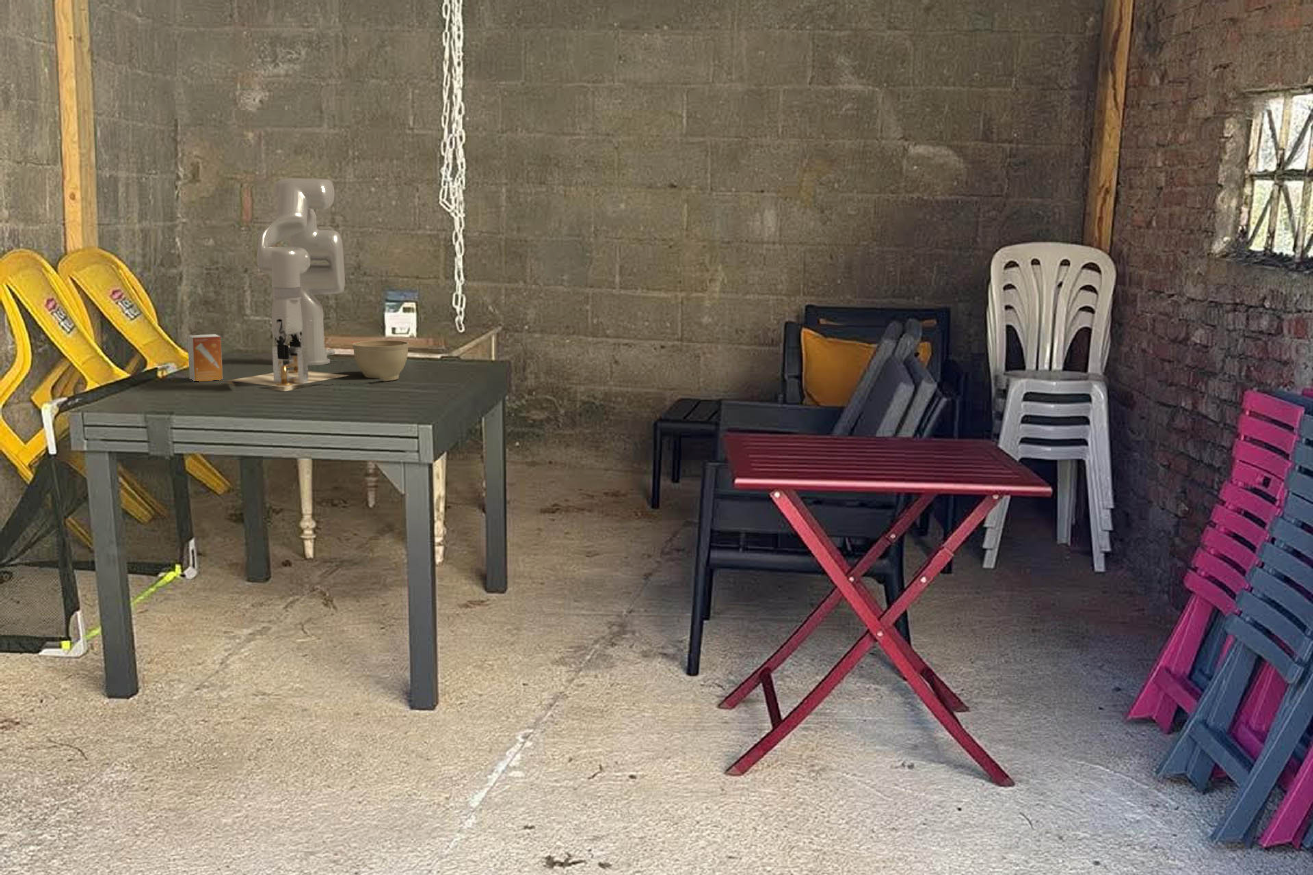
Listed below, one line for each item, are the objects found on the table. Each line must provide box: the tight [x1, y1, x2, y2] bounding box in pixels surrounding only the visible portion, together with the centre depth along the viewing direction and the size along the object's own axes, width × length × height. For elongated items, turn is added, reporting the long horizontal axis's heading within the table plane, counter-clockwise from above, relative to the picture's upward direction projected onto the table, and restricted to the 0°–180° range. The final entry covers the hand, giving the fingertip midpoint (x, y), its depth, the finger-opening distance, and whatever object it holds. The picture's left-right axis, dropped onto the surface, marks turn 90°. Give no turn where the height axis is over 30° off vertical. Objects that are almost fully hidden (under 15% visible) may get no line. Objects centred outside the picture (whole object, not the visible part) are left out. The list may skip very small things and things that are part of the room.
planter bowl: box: [352, 339, 410, 382], centre depth 376 cm, size 16×16×11 cm
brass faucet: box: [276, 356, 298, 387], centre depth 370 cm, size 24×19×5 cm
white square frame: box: [271, 345, 309, 385], centre depth 361 cm, size 3×9×10 cm, turn 79°
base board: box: [227, 370, 350, 392], centre depth 371 cm, size 26×22×1 cm
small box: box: [186, 333, 224, 382], centre depth 372 cm, size 8×6×13 cm
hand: (289, 356), depth 361 cm, fingers open, 6 cm apart
